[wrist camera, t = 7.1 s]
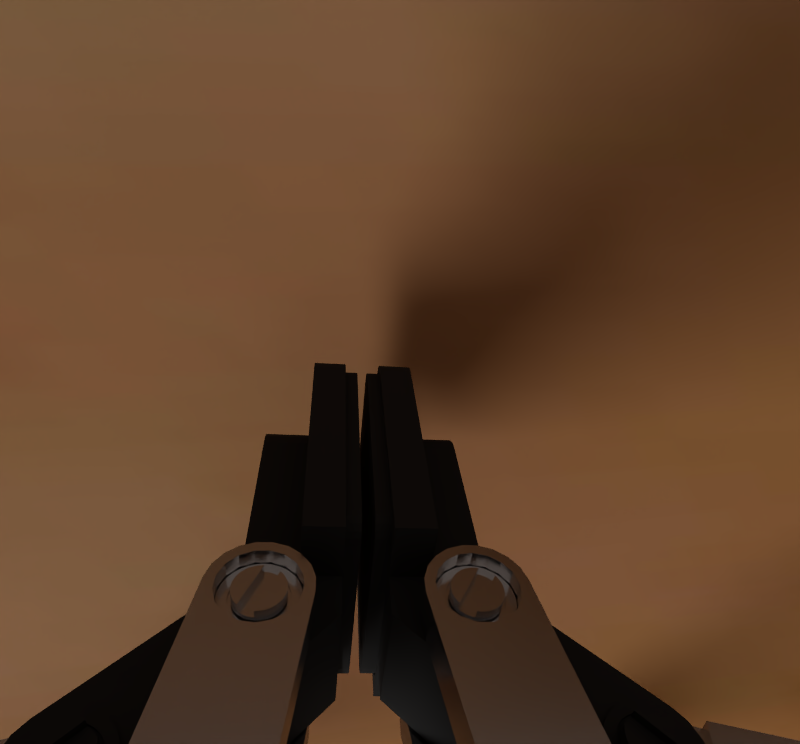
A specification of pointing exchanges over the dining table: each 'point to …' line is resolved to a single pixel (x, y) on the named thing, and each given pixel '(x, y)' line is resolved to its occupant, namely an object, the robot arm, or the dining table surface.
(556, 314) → the dining table surface
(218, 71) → the dining table surface
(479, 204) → the dining table surface
